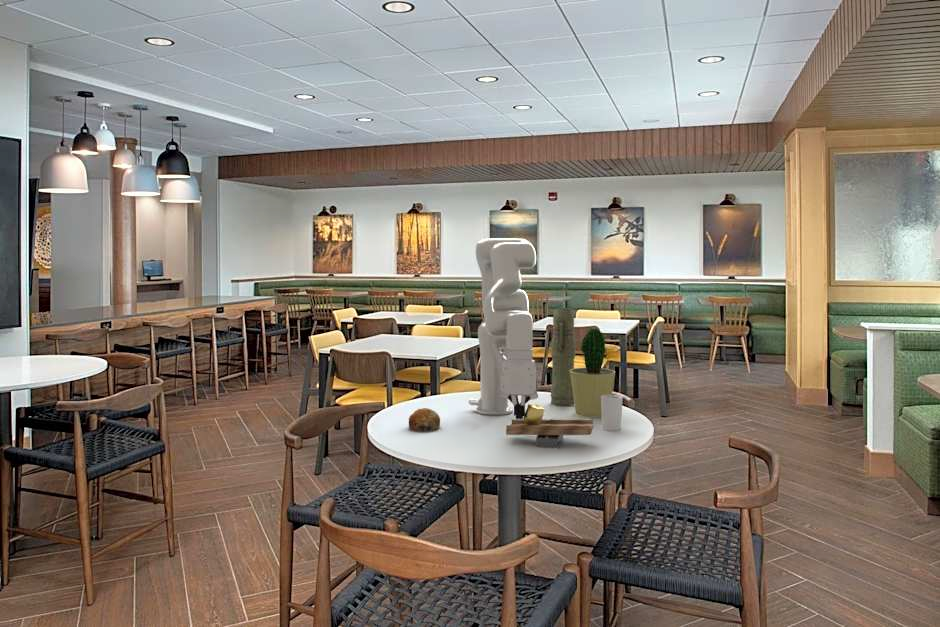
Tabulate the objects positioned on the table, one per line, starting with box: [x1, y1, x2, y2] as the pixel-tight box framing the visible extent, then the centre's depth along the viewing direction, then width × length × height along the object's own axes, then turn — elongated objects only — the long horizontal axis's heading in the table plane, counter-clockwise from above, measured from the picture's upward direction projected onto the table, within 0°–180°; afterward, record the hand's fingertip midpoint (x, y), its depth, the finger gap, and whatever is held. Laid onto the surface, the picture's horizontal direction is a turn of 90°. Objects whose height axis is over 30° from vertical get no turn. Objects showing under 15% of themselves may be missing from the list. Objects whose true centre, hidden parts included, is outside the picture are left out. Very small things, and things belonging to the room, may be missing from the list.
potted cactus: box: [570, 327, 616, 418], centre depth 243 cm, size 15×15×30 cm
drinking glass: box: [601, 394, 624, 431], centre depth 222 cm, size 7×7×10 cm
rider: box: [522, 402, 546, 425], centre depth 206 cm, size 5×5×5 cm
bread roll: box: [408, 407, 441, 432], centre depth 224 cm, size 10×10×8 cm
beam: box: [505, 418, 594, 436], centre depth 205 cm, size 24×9×3 cm, turn 75°
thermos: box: [550, 307, 577, 406], centre depth 260 cm, size 9×12×35 cm
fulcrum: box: [535, 435, 564, 449], centre depth 206 cm, size 6×12×3 cm, turn 165°
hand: (519, 418), depth 207 cm, fingers closed
